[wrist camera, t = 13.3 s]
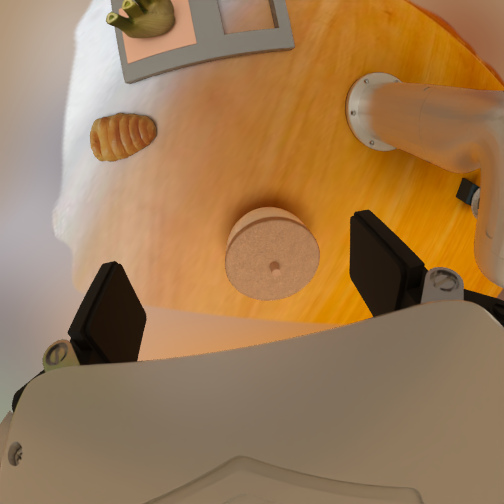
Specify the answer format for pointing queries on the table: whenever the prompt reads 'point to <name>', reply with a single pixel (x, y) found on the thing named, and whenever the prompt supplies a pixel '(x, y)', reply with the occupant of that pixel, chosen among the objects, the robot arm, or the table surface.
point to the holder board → (197, 39)
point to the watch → (469, 195)
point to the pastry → (120, 136)
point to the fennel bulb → (144, 18)
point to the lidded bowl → (270, 254)
